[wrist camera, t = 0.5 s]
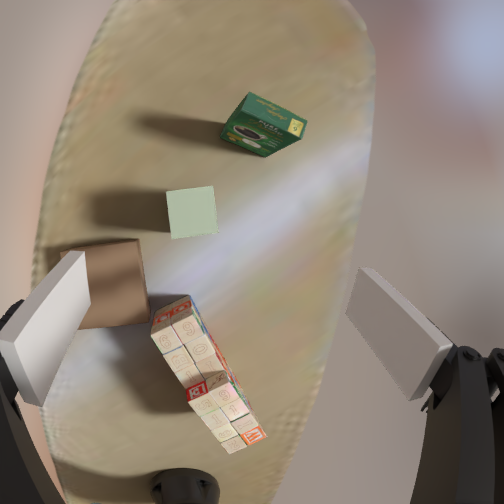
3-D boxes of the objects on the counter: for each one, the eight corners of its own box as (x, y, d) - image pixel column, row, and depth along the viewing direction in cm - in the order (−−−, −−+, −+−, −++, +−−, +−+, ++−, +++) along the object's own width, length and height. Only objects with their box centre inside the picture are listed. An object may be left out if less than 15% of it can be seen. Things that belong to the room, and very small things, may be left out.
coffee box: (273, 143, 44) (310, 119, 31) (266, 159, 44) (302, 140, 32) (225, 122, 42) (247, 88, 29) (218, 138, 42) (237, 109, 29)
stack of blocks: (153, 311, 42) (147, 344, 31) (189, 293, 44) (196, 321, 32) (215, 410, 47) (229, 455, 35) (246, 395, 48) (267, 438, 36)
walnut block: (150, 310, 42) (148, 322, 38) (84, 318, 40) (76, 329, 35) (139, 238, 41) (135, 241, 36) (71, 248, 38) (60, 252, 33)
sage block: (206, 228, 43) (218, 232, 31) (172, 232, 42) (171, 239, 30) (202, 194, 42) (213, 185, 31) (167, 198, 41) (166, 191, 29)
